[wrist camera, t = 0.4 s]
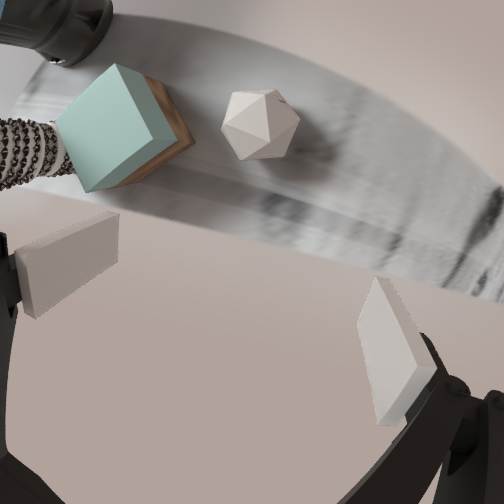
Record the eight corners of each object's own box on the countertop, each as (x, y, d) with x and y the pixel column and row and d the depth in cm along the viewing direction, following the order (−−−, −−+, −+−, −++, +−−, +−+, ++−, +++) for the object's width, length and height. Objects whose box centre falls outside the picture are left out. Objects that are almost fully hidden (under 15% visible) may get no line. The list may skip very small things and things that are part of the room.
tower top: (85, 122, 33) (55, 121, 27) (141, 73, 30) (114, 62, 24) (115, 186, 35) (85, 193, 29) (177, 140, 32) (153, 138, 26)
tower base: (109, 125, 38) (85, 123, 33) (162, 83, 35) (141, 74, 30) (138, 182, 41) (115, 187, 35) (195, 142, 37) (177, 141, 32)
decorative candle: (97, 111, 38) (-40, 106, 14) (104, 167, 40) (-36, 195, 17) (59, 128, 40) (-64, 138, 16) (65, 179, 42) (-58, 212, 19)
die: (299, 160, 36) (321, 111, 27) (239, 185, 35) (246, 135, 25) (266, 116, 38) (279, 64, 29) (209, 136, 36) (208, 82, 27)
